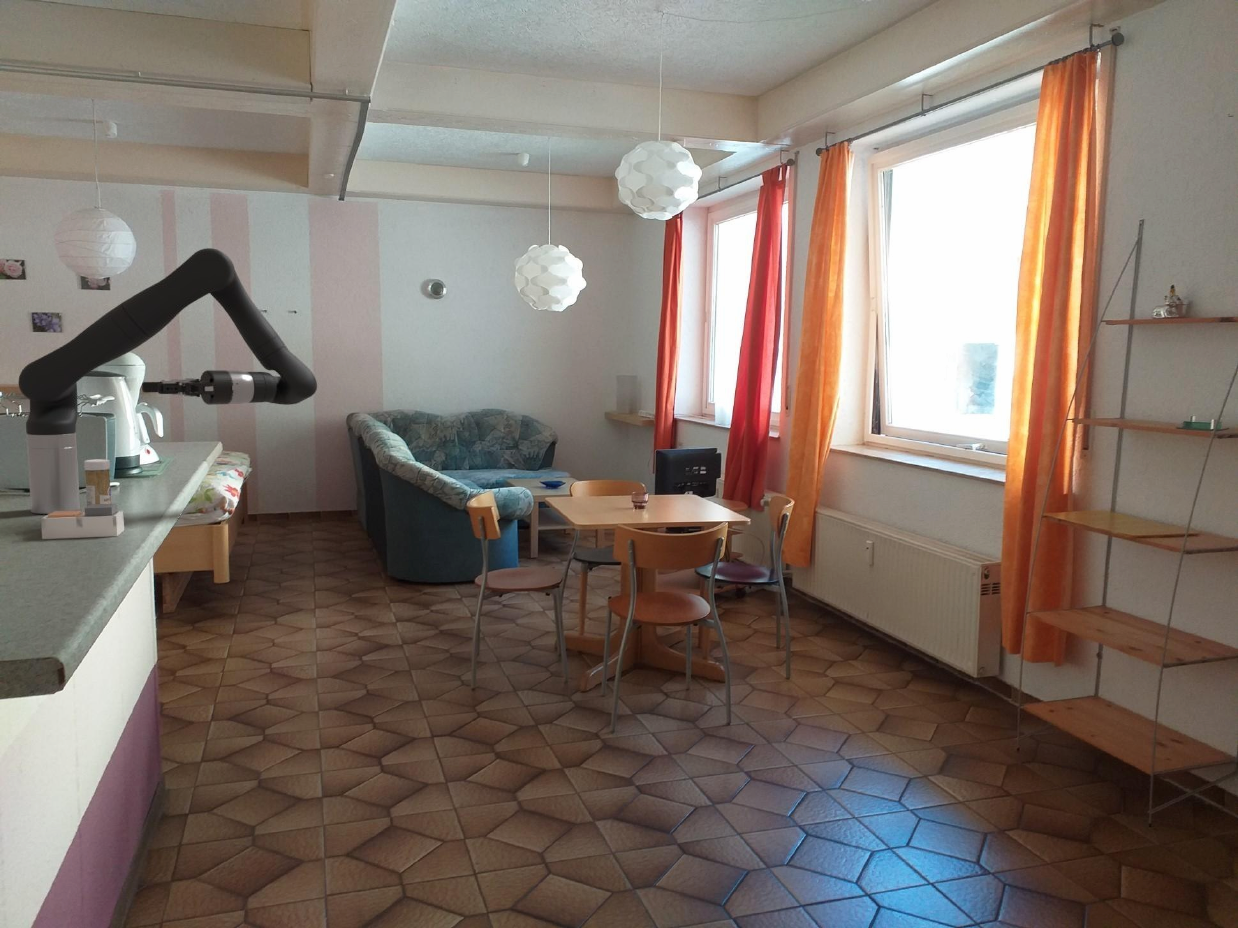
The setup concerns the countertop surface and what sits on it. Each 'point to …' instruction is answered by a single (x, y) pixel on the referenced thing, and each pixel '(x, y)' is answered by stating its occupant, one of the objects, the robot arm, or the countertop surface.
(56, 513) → the key terracotta
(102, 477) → the sprinkles bottle
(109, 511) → the key charcoal
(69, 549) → the countertop surface
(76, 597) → the countertop surface
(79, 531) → the keypad
